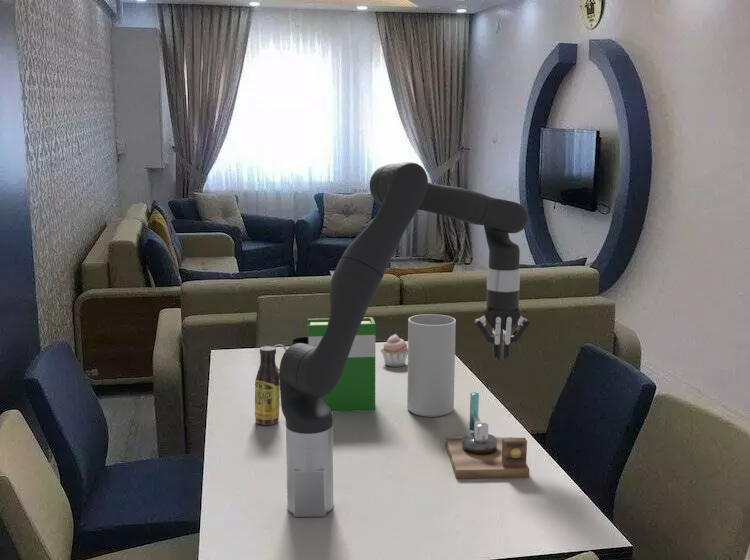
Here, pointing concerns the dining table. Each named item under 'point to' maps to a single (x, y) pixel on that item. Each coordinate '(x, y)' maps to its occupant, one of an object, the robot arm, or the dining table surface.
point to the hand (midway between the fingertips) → (500, 358)
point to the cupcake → (395, 351)
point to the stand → (490, 459)
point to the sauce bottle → (267, 388)
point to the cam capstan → (478, 432)
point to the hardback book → (351, 368)
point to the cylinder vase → (431, 364)
